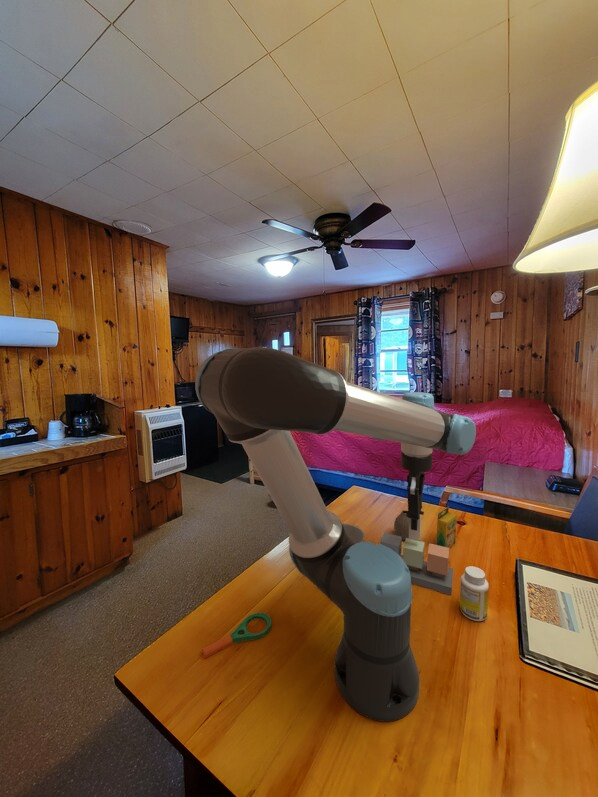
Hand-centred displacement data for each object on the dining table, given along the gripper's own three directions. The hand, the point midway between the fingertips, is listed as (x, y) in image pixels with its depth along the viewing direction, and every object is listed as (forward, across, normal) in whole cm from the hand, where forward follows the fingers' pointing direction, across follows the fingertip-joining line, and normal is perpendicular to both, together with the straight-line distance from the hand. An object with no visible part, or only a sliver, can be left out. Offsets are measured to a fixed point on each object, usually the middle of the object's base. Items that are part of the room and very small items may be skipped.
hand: (414, 538), depth 85 cm
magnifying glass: (+11, -37, +30) cm, 49 cm away
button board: (+10, 0, 0) cm, 10 cm away
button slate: (+6, 0, +6) cm, 9 cm away
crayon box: (+11, +17, -7) cm, 21 cm away
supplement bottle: (+10, -8, -14) cm, 19 cm away
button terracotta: (+6, 0, -6) cm, 9 cm away
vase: (+11, +17, +5) cm, 20 cm away
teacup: (+10, -2, +20) cm, 23 cm away
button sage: (+6, 0, 0) cm, 6 cm away
